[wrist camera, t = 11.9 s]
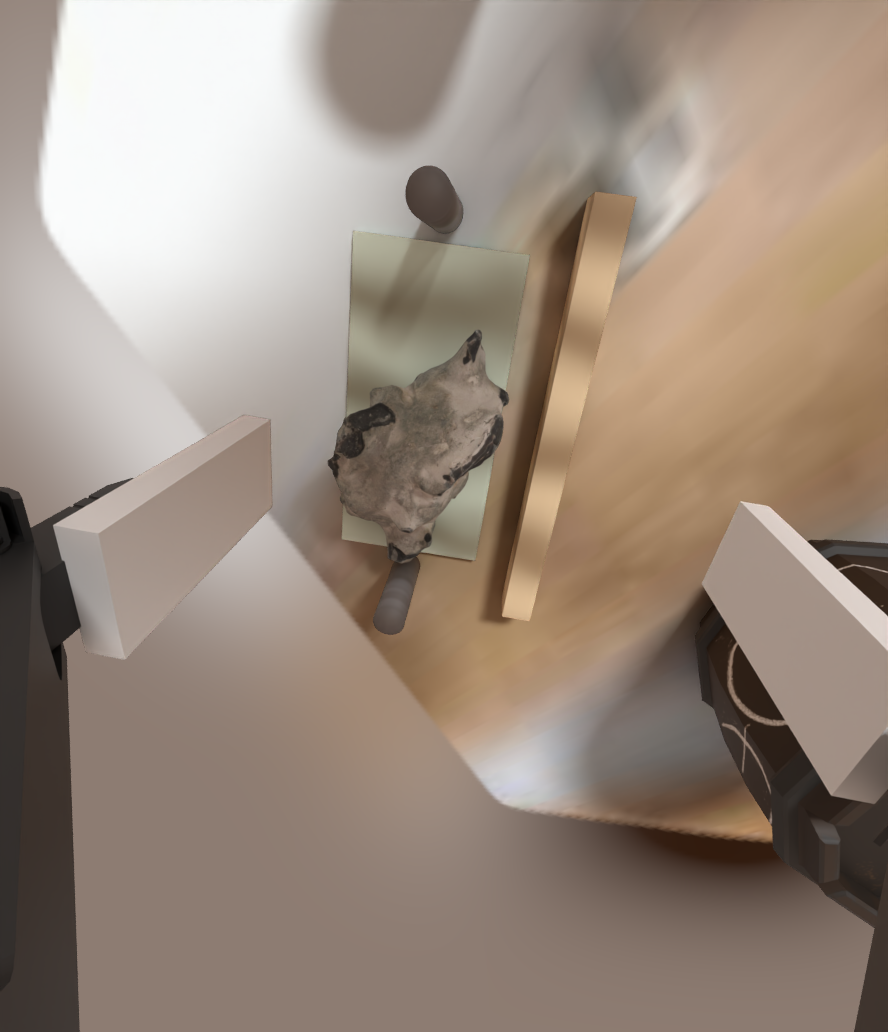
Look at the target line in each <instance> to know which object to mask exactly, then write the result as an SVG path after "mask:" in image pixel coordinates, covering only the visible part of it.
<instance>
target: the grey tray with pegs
mask: <svg viewBox="0 0 888 1032" xmlns="http://www.w3.org/2000/svg"><path fill="white" fill-rule="evenodd" d="M636 198H637V197H632V196H625V195H617V194H610V193H602V192H595V193H593V194H592V195H591V196H590V197H589V198H588V199H587V204H586V208H585V213H584V217H583V222H582V227H581V231H580V236H579V241H578V245H577V250H576V255H575V259H574V264H573V269H572V273H571V278H570V282H569V287H568V292H567V296H566V301H565V306H564V310H563V315H562V320H561V324H560V329H559V334H558V338H557V343H556V347H555V352H554V357H553V361H552V366H551V371H550V375H549V380H548V385H547V389H546V394H545V399H544V403H543V408H542V412H541V417H540V422H539V426H538V431H537V436H536V440H535V445H534V450H533V454H532V459H531V464H530V468H529V473H528V477H527V482H526V487H525V491H524V496H523V501H522V505H521V510H520V515H519V519H518V524H517V529H516V533H515V538H514V542H513V547H512V552H511V556H510V561H509V566H508V570H507V575H506V580H505V584H504V589H503V594H502V617H508V618H514V619H520V620H526V621H530V617H531V613H532V609H533V605H534V601H535V598H536V594H537V590H538V586H539V582H540V578H541V574H542V570H543V566H544V562H545V558H546V554H547V550H548V546H549V542H550V538H551V534H552V530H553V526H554V522H555V518H556V514H557V510H558V506H559V502H560V499H561V495H562V491H563V487H564V483H565V479H566V475H567V471H568V467H569V463H570V459H571V455H572V451H573V447H574V443H575V439H576V435H577V431H578V427H579V423H580V419H581V415H582V411H583V407H584V404H585V400H586V396H587V392H588V388H589V384H590V380H591V376H592V372H593V368H594V364H595V360H596V356H597V352H598V348H599V344H600V340H601V336H602V332H603V328H604V324H605V320H606V316H607V312H608V308H609V305H610V301H611V297H612V293H613V289H614V285H615V281H616V277H617V273H618V269H619V265H620V261H621V257H622V253H623V249H624V245H625V241H626V237H627V233H628V229H629V225H630V221H631V217H632V213H633V210H634V206H635V202H636ZM406 201H407V204H408V207H409V209H410V210H411V212H412V213H413V214H414V215H415V216H416V217H417V218H419V219H420V220H422V221H423V222H425V223H426V224H427V225H429V226H430V227H432V228H433V229H435V230H436V231H438V232H440V233H450V232H452V231H454V230H455V229H456V228H457V227H458V226H459V225H460V223H461V221H462V218H463V206H462V203H461V201H460V199H459V197H458V195H457V193H456V192H455V190H454V188H453V186H452V184H451V182H450V180H449V179H448V177H447V175H446V174H445V173H444V172H443V171H442V170H441V169H439V168H437V167H435V166H423V167H421V168H419V169H417V170H416V171H415V172H414V173H413V174H412V175H411V176H410V178H409V180H408V182H407V186H406ZM529 258H530V255H526V254H519V253H511V252H504V251H497V250H490V249H482V248H475V247H468V246H461V245H453V244H446V243H439V242H432V241H424V240H417V239H410V238H403V237H395V236H388V235H381V234H374V233H366V232H359V231H353V249H352V275H351V302H350V329H349V356H348V382H347V409H346V417H347V416H348V415H349V414H352V413H355V412H357V411H360V410H363V409H366V408H369V407H370V392H371V390H372V389H374V388H379V387H385V386H390V385H394V386H398V387H401V388H405V387H407V386H409V385H410V384H411V383H413V382H414V381H415V379H416V377H417V376H418V375H419V374H420V373H424V372H426V371H427V370H429V369H430V368H433V367H436V366H439V365H441V364H443V363H445V362H446V361H448V360H449V359H450V358H452V357H453V356H454V355H455V354H456V353H457V352H458V350H459V349H460V348H461V346H462V345H463V344H464V342H465V341H466V340H467V339H468V338H469V337H470V336H471V335H472V334H473V333H474V331H475V330H480V331H481V332H482V340H481V345H482V346H483V349H484V351H485V354H486V374H487V376H488V378H489V379H490V380H491V381H492V382H493V383H494V384H495V385H497V386H498V387H500V388H502V389H503V390H505V391H506V386H507V381H508V375H509V370H510V364H511V359H512V353H513V347H514V342H515V336H516V331H517V325H518V319H519V314H520V308H521V303H522V297H523V292H524V286H525V280H526V275H527V269H528V264H529ZM502 409H503V407H502ZM501 413H502V411H501ZM494 453H495V452H494ZM494 453H493V454H492V456H491V457H489V458H488V459H486V460H485V461H484V462H483V463H482V465H480V466H478V467H476V468H474V469H471V470H470V471H469V476H468V481H467V483H466V485H465V487H464V488H463V489H462V491H461V492H460V493H459V494H458V495H457V496H456V498H455V499H451V501H450V502H449V504H448V505H447V507H446V508H445V509H444V511H443V512H442V513H441V514H440V515H439V516H438V517H437V519H436V520H435V521H436V522H435V525H436V526H435V528H434V531H433V534H432V543H431V545H430V547H428V548H425V549H424V550H422V551H421V552H424V553H430V554H436V555H443V556H449V557H455V558H461V559H468V560H474V561H475V559H476V554H477V548H478V543H479V537H480V532H481V526H482V520H483V515H484V509H485V504H486V498H487V492H488V487H489V481H490V476H491V470H492V465H493V459H494ZM342 539H343V540H350V541H356V542H362V543H368V544H374V545H381V546H387V543H386V536H385V533H384V530H383V529H382V527H381V526H380V525H379V524H378V523H376V522H373V521H368V520H365V519H361V518H359V517H356V516H351V515H349V514H348V513H347V512H346V509H345V507H344V505H343V516H342ZM419 569H420V561H419V559H418V558H417V557H414V558H413V559H412V560H411V561H410V562H406V563H403V564H401V563H399V562H395V561H394V563H393V566H392V569H391V571H390V574H389V577H388V579H387V582H386V585H385V587H384V590H383V593H382V596H381V598H380V601H379V604H378V606H377V609H376V612H375V614H374V617H373V623H374V626H375V627H376V629H377V630H378V631H380V632H382V633H384V634H388V635H393V634H397V633H399V632H400V631H401V630H402V629H403V627H404V624H405V620H406V617H407V613H408V609H409V606H410V602H411V598H412V595H413V591H414V588H415V584H416V580H417V577H418V573H419Z"/></svg>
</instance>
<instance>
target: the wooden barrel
mask: <svg viewBox="0 0 888 1032" xmlns="http://www.w3.org/2000/svg"><path fill="white" fill-rule="evenodd" d="M807 542H808V543H809V544H810V545H811V546H812V547H813V548H814V549H816V550H817V551H818V552H819V553H820V554H821V555H822V556H823V557H824V558H825V559H826V560H827V561H829V562H830V563H831V564H832V565H833V566H834V567H835V568H836V569H837V570H838V571H839V572H840V573H841V574H843V575H844V576H845V577H846V578H847V579H848V580H849V581H850V582H851V583H852V584H853V585H854V586H856V587H857V588H858V589H859V590H860V591H861V592H862V593H863V594H864V595H865V596H866V597H867V598H869V599H870V600H871V601H872V602H873V603H874V604H875V605H876V606H877V607H878V608H879V609H880V610H882V611H883V612H884V613H885V614H886V615H887V616H888V543H872V542H856V541H840V540H823V541H822V540H809V541H807ZM700 627H701V628H700V629H699V631H698V632H697V633H696V634H695V641H696V650H697V659H698V667H699V676H700V685H701V693H702V700H703V701H704V702H706V703H707V704H708V705H710V706H711V707H712V708H714V710H715V713H716V716H717V719H718V722H719V725H720V728H721V731H722V734H723V737H724V740H725V742H726V744H727V746H728V748H729V750H730V752H731V755H732V757H733V759H734V761H735V763H736V765H737V767H738V769H739V771H740V773H741V775H742V777H743V779H744V781H745V783H746V786H747V787H748V789H749V791H750V792H751V794H752V795H753V797H754V799H755V800H756V802H757V803H758V805H759V806H760V808H761V810H762V811H763V813H764V814H765V816H766V818H767V819H768V821H769V822H770V824H771V826H772V834H773V849H774V850H775V852H776V853H777V854H778V855H779V856H780V858H781V859H782V860H783V861H784V862H785V863H786V864H787V865H789V866H790V867H792V868H793V869H795V870H796V871H798V872H800V873H801V874H802V875H804V876H805V877H807V878H808V879H810V880H811V881H813V882H814V883H816V884H817V885H818V886H819V887H820V888H821V890H822V891H823V892H824V893H825V895H826V896H828V897H829V898H831V899H832V900H834V901H835V902H837V903H838V904H840V905H841V906H843V907H844V908H846V909H847V910H849V911H850V912H852V913H853V914H855V915H856V916H857V917H859V918H860V919H862V920H863V921H865V922H866V923H868V924H869V925H871V926H872V927H874V928H875V924H876V919H877V914H878V909H879V904H880V899H881V893H882V888H883V883H884V878H885V873H886V868H887V863H888V841H885V842H884V843H883V844H882V846H881V847H880V846H878V845H877V844H876V843H874V842H873V841H874V839H875V838H876V837H877V836H878V834H879V833H880V832H881V831H882V830H883V829H884V828H885V827H886V826H887V825H888V790H887V791H886V792H885V793H884V794H883V795H882V796H881V797H880V799H879V800H878V801H877V802H876V803H875V804H872V803H867V802H861V801H856V800H851V799H846V798H841V797H835V796H831V794H830V793H829V791H828V790H827V788H826V786H825V785H824V783H823V781H822V780H821V778H820V776H819V775H818V773H817V772H816V770H815V768H814V767H813V765H812V763H811V762H810V760H809V758H808V757H807V755H806V754H805V752H804V750H803V749H802V747H801V745H800V744H799V742H798V740H797V739H796V737H795V736H794V734H793V732H792V731H791V729H790V727H789V726H788V724H787V722H786V721H785V719H784V718H783V716H782V714H781V713H780V711H779V709H778V708H777V706H776V705H775V703H774V701H773V700H772V698H771V696H770V695H769V693H768V691H767V690H766V688H765V687H764V685H763V683H762V682H761V680H760V678H759V677H758V675H757V673H756V672H755V670H754V669H753V667H752V665H751V664H750V662H749V660H748V659H747V657H746V655H745V654H744V652H743V651H742V649H741V647H740V646H739V644H738V642H737V641H736V639H735V637H734V636H733V634H732V633H731V631H730V629H729V628H728V626H727V624H726V623H725V621H724V619H723V618H722V616H721V615H720V613H719V611H718V610H717V608H716V606H715V605H714V604H713V606H712V607H711V608H710V610H709V611H708V612H707V614H706V615H705V617H704V618H703V619H702V621H701V622H700Z"/></svg>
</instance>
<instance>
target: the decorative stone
mask: <svg viewBox="0 0 888 1032" xmlns="http://www.w3.org/2000/svg"><path fill="white" fill-rule="evenodd" d="M481 340H482V332H481V331H480V330H475V331H474V333H473V334H472V335H471V336H470V337H469V338H468V339H467V340H466V341H465V342H464V344H463V345H462V346H461V348H460V349H459V350H458V352H457V353H456V354H455V355H454V356H453V357H452V358H450V359H449V360H448V361H446V362H445V363H443V364H441V365H439V366H436V367H433V368H430V369H429V370H427V371H426V372H424V373H420V374H419V375H418V376H417V377H416V379H415V381H414V382H413V383H411V384H410V385H409V386H407V387H405V388H401V387H398V386H394V385H390V386H385V387H379V388H374V389H372V390H371V392H370V407H369V408H366V409H363V410H360V411H357V412H355V413H352V414H349V415H348V416H347V417H346V418H345V419H344V422H343V424H342V427H341V428H340V429H339V431H338V433H337V441H336V447H335V451H334V457H333V458H331V459H330V460H328V465H329V467H330V468H331V469H332V470H333V474H334V477H335V479H336V481H337V484H338V486H339V488H340V490H341V492H342V493H341V497H340V501H341V503H342V504H343V505H344V507H345V509H346V512H347V513H348V514H349V515H351V516H356V517H359V518H361V519H365V520H368V521H373V522H376V523H378V524H379V525H380V526H381V527H382V529H383V530H384V533H385V536H386V543H387V550H388V559H390V560H393V561H395V562H399V563H401V564H403V563H406V562H410V561H411V560H412V559H413V558H414V557H416V556H417V555H418V554H419V553H420V552H421V551H422V550H424V549H425V548H428V547H430V545H431V543H432V534H433V531H434V528H435V526H436V525H435V522H436V521H435V520H436V519H437V517H438V516H439V515H440V514H441V513H442V512H443V511H444V509H445V508H446V507H447V505H448V504H449V502H450V501H451V499H455V498H456V496H457V495H458V494H459V493H460V492H461V491H462V489H463V488H464V487H465V485H466V483H467V481H468V476H469V471H470V470H471V469H474V468H476V467H478V466H480V465H482V463H483V462H484V461H485V460H486V459H488V458H489V457H491V456H492V454H493V453H494V452H495V450H496V449H497V447H498V445H499V443H500V441H501V437H502V433H503V423H504V422H503V417H502V413H501V411H502V407H504V406H505V405H507V404H508V402H509V397H508V393H507V392H506V391H505V390H503V389H502V388H500V387H498V386H497V385H495V384H494V383H493V382H492V381H491V380H490V379H489V378H488V376H487V374H486V354H485V351H484V349H483V346H482V345H481Z"/></svg>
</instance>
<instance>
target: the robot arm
mask: <svg viewBox="0 0 888 1032" xmlns="http://www.w3.org/2000/svg"><path fill="white" fill-rule="evenodd" d="M271 507H272V475H271V428H270V419H264V418H259V417H253V416H247V415H243V416H241V417H239V418H238V419H236V420H234V421H232V422H231V423H229V424H227V425H225V426H224V427H222V428H220V429H219V430H217V431H215V432H213V433H212V434H210V435H208V436H206V437H205V438H203V439H201V440H200V441H198V442H196V443H194V444H193V445H191V446H189V447H187V448H186V449H184V450H182V451H181V452H179V453H177V454H175V455H174V456H172V457H170V458H168V459H167V460H165V461H163V462H162V463H160V464H158V465H156V466H155V467H153V468H151V469H149V470H148V471H146V472H144V473H143V474H141V475H139V476H137V477H136V478H131V479H127V480H124V481H121V482H117V483H114V484H111V485H107V486H106V487H104V488H102V489H100V490H99V491H97V492H95V493H93V494H91V495H90V496H89V498H84V499H82V500H80V501H79V502H77V503H75V504H74V506H73V507H68V508H66V509H64V510H63V511H61V512H59V513H57V514H55V515H53V516H52V517H50V518H48V519H46V520H45V521H43V522H41V523H39V524H37V525H36V526H34V527H32V528H30V525H29V521H28V518H27V514H26V510H25V507H24V504H23V500H22V497H21V495H20V493H19V492H17V491H15V490H12V489H10V488H5V487H0V1032H80V1030H79V1001H78V971H77V943H76V915H75V914H76V913H75V884H74V855H73V828H72V827H73V826H72V797H71V769H70V738H69V711H68V710H69V709H68V682H67V681H68V680H67V656H66V652H65V649H64V645H63V641H64V640H66V639H67V638H68V637H69V636H70V635H72V634H73V633H74V632H75V631H76V630H77V629H79V628H80V632H81V636H82V640H83V644H84V648H85V652H87V653H92V654H97V655H102V656H107V657H113V658H118V659H123V660H125V659H126V658H127V657H128V656H129V655H130V654H131V653H132V652H133V651H134V650H135V649H136V648H137V647H138V645H140V643H142V641H143V640H144V639H145V638H146V637H147V636H148V635H149V634H150V633H151V632H152V631H153V630H154V629H155V628H156V627H157V626H158V625H159V624H160V622H162V621H163V620H164V619H165V618H166V617H167V615H168V614H169V613H170V612H171V611H172V610H173V609H174V608H175V607H176V606H177V605H178V604H179V603H180V602H181V601H182V600H183V599H184V598H185V597H186V596H187V595H188V594H189V592H190V591H191V590H192V589H193V588H194V587H195V586H196V585H197V584H198V583H199V582H200V581H201V580H202V579H203V578H204V577H205V576H206V575H207V574H208V573H209V572H210V571H211V570H212V569H213V568H214V567H215V566H216V564H217V563H218V562H219V561H220V560H221V559H222V558H223V557H224V556H225V555H226V554H227V553H228V552H229V551H230V550H231V549H232V548H233V547H234V546H235V545H236V544H237V542H239V541H240V540H241V538H242V537H243V536H244V535H245V534H246V533H247V532H248V531H249V530H250V529H251V528H252V527H253V526H254V525H255V524H256V523H257V522H258V521H259V519H260V518H262V517H263V516H264V515H265V513H266V512H267V511H268V510H269V509H270V508H271ZM702 585H703V587H704V588H705V590H706V592H707V593H708V595H709V597H710V598H711V600H712V601H713V603H714V605H715V606H716V608H717V610H718V611H719V613H720V615H721V616H722V618H723V619H724V621H725V623H726V624H727V626H728V628H729V629H730V631H731V633H732V634H733V636H734V637H735V639H736V641H737V642H738V644H739V646H740V647H741V649H742V651H743V652H744V654H745V655H746V657H747V659H748V660H749V662H750V664H751V665H752V667H753V669H754V670H755V672H756V673H757V675H758V677H759V678H760V680H761V682H762V683H763V685H764V687H765V688H766V690H767V691H768V693H769V695H770V696H771V698H772V700H773V701H774V703H775V705H776V706H777V708H778V709H779V711H780V713H781V714H782V716H783V718H784V719H785V721H786V722H787V724H788V726H789V727H790V729H791V731H792V732H793V734H794V736H795V737H796V739H797V740H798V742H799V744H800V745H801V747H802V749H803V750H804V752H805V754H806V755H807V757H808V758H809V760H810V762H811V763H812V765H813V767H814V768H815V770H816V772H817V773H818V775H819V776H820V778H821V780H822V781H823V783H824V785H825V786H826V788H827V790H828V791H829V793H830V794H831V796H835V797H841V798H846V799H851V800H856V801H861V802H867V803H872V804H875V803H876V802H877V801H878V800H879V799H880V797H881V796H882V795H883V794H884V793H885V792H886V791H887V790H888V616H887V615H886V614H885V613H884V612H883V611H882V610H880V609H879V608H878V607H877V606H876V605H875V604H874V603H873V602H872V601H871V600H870V599H869V598H867V597H866V596H865V595H864V594H863V593H862V592H861V591H860V590H859V589H858V588H857V587H856V586H854V585H853V584H852V583H851V582H850V581H849V580H848V579H847V578H846V577H845V576H844V575H843V574H841V573H840V572H839V571H838V570H837V569H836V568H835V567H834V566H833V565H832V564H831V563H830V562H829V561H827V560H826V559H825V558H824V557H823V556H822V555H821V554H820V553H819V552H818V551H817V550H816V549H814V548H813V547H812V546H811V545H810V544H809V543H808V542H807V541H806V540H805V539H804V538H803V537H801V536H800V535H799V534H798V533H797V532H796V531H795V530H794V529H793V528H792V527H791V526H790V525H788V524H787V523H786V522H785V521H784V520H783V519H782V518H781V517H780V516H779V515H778V514H777V513H775V512H774V511H773V510H772V509H771V508H770V507H769V506H764V505H759V504H753V503H747V502H741V501H740V503H739V505H738V507H737V509H736V512H735V514H734V516H733V518H732V520H731V522H730V524H729V527H728V529H727V531H726V533H725V535H724V537H723V539H722V541H721V544H720V546H719V548H718V550H717V552H716V554H715V556H714V559H713V561H712V563H711V565H710V567H709V569H708V571H707V574H706V576H705V578H704V580H703V582H702ZM885 841H888V825H887V826H886V827H885V828H884V829H883V830H882V831H881V832H880V833H879V834H878V836H877V837H876V838H875V839H874V841H873V842H874V843H876V844H877V845H878V846H880V847H881V846H882V844H883V843H884V842H885ZM854 1032H888V863H887V868H886V873H885V878H884V883H883V888H882V893H881V899H880V904H879V909H878V914H877V919H876V924H875V929H874V934H873V939H872V945H871V949H870V954H869V960H868V964H867V970H866V974H865V980H864V985H863V990H862V995H861V1000H860V1005H859V1010H858V1015H857V1020H856V1025H855V1030H854Z"/></svg>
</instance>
